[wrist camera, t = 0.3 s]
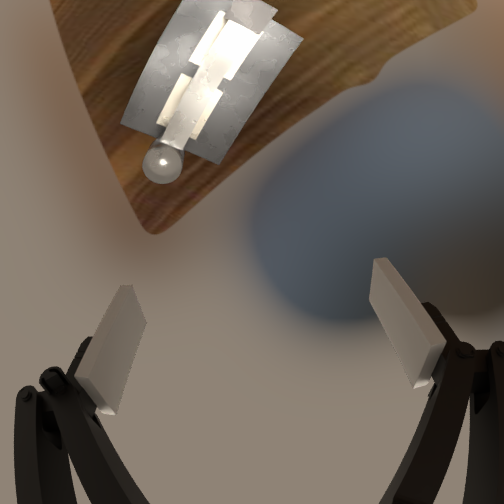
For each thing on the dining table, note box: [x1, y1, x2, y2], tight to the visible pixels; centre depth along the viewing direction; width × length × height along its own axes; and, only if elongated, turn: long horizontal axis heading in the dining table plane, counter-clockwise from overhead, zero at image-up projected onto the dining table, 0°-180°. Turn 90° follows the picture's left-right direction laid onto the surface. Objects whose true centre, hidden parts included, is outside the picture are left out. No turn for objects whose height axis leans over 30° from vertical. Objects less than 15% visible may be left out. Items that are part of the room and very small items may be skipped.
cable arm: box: [142, 0, 278, 184], centre depth 25 cm, size 20×4×3 cm, turn 149°
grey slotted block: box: [120, 0, 303, 165], centre depth 28 cm, size 20×13×6 cm, turn 149°
